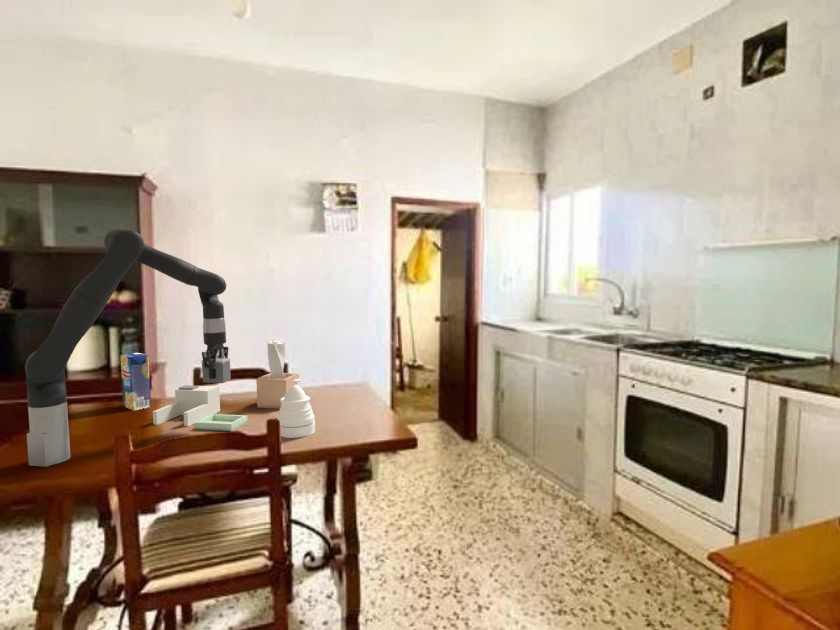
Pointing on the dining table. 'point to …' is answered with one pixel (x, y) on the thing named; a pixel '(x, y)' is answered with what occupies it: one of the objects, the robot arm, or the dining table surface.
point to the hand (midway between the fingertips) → (216, 377)
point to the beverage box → (135, 381)
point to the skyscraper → (276, 358)
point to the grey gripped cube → (218, 371)
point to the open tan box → (273, 390)
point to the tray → (221, 422)
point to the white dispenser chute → (190, 404)
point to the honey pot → (296, 413)
